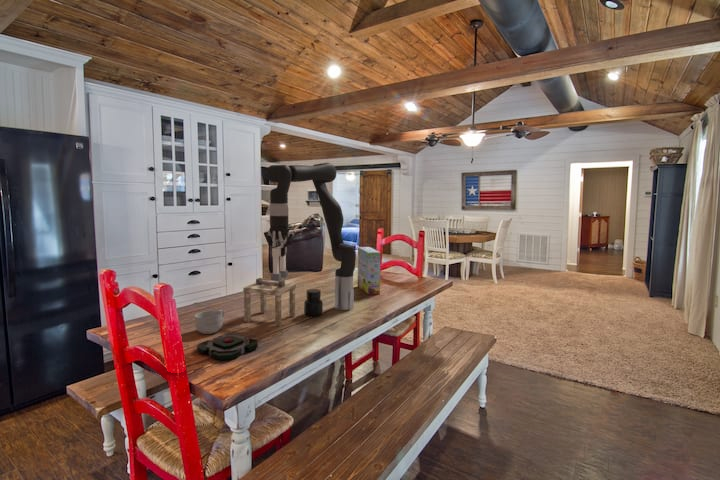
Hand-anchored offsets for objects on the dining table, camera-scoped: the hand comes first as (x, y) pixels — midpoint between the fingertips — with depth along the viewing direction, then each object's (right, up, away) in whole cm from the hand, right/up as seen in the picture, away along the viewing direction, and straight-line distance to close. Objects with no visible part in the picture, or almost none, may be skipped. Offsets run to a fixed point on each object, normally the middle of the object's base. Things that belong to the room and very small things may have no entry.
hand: (279, 255), depth 159 cm
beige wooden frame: (-8, -30, +20) cm, 37 cm away
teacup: (-29, -32, +3) cm, 43 cm away
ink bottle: (+11, -30, +28) cm, 42 cm away
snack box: (+38, -25, +77) cm, 90 cm away
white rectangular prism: (0, -10, +1) cm, 10 cm away
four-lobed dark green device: (-16, -35, -15) cm, 41 cm away
